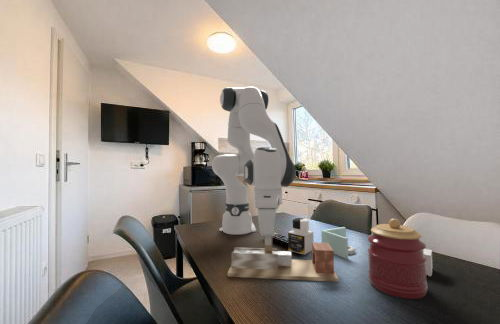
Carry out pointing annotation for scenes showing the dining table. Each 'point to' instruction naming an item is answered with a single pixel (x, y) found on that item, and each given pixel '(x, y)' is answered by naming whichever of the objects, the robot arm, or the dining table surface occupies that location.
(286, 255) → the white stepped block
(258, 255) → the stand
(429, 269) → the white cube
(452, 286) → the dining table surface
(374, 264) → the canister
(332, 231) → the right angle wall
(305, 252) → the medicine bottle
